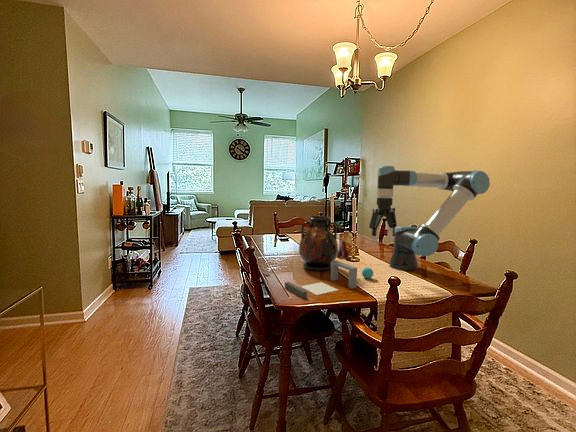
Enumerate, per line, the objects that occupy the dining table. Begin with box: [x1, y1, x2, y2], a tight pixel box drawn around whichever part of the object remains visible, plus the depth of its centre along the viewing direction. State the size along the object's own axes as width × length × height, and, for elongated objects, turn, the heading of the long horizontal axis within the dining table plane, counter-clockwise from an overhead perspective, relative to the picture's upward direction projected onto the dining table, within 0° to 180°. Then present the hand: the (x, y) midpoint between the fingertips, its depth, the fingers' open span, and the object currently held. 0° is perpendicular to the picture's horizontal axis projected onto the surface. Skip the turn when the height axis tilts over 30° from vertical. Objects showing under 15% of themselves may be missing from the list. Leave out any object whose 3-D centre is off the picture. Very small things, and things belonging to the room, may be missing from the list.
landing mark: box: [299, 281, 339, 296], centre depth 138 cm, size 12×12×1 cm
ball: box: [361, 266, 374, 280], centre depth 153 cm, size 6×6×6 cm
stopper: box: [284, 281, 308, 299], centre depth 132 cm, size 2×14×2 cm, turn 32°
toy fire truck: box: [336, 238, 350, 259], centre depth 197 cm, size 7×12×10 cm, turn 3°
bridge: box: [330, 259, 358, 289], centre depth 145 cm, size 3×14×9 cm, turn 32°
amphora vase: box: [298, 215, 339, 272], centre depth 169 cm, size 22×22×28 cm
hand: (382, 241), depth 157 cm, fingers open, 10 cm apart
